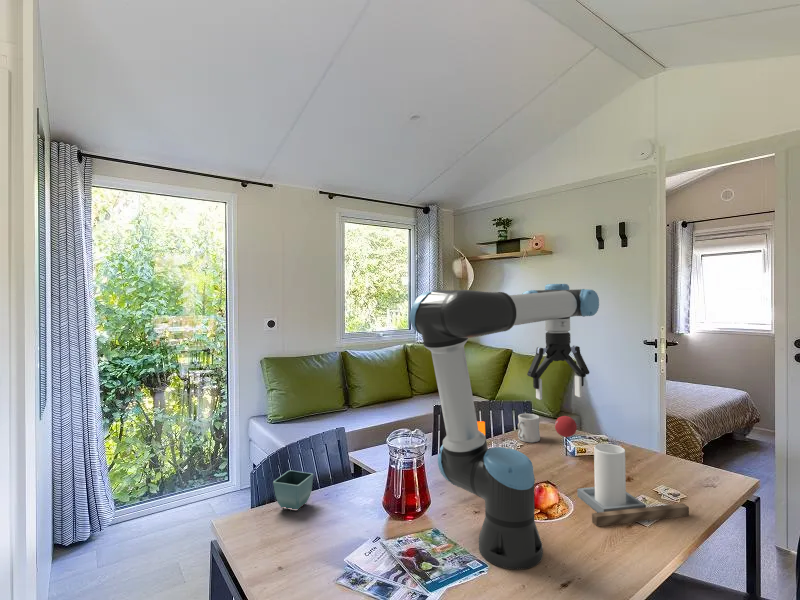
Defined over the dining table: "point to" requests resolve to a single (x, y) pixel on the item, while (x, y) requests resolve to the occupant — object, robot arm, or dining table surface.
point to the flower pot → (293, 489)
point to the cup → (609, 475)
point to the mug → (528, 428)
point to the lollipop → (565, 427)
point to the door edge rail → (640, 514)
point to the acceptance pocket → (589, 499)
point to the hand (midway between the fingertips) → (558, 397)
